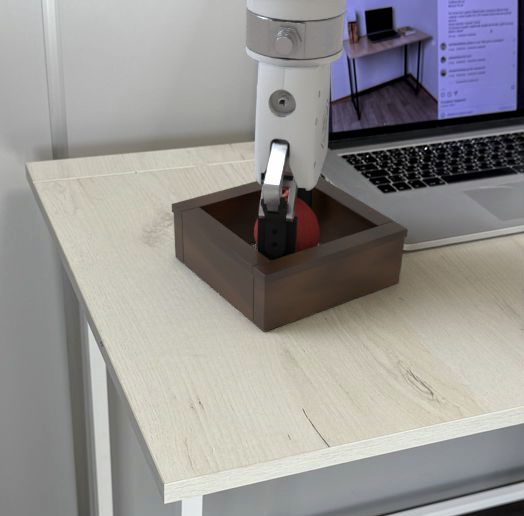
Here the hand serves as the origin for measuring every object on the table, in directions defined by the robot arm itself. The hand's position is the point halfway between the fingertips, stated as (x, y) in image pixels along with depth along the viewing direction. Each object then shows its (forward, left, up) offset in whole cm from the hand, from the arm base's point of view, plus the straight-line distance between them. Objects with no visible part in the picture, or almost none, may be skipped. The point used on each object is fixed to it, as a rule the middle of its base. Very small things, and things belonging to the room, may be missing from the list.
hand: (285, 232), depth 78 cm
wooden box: (0, 0, -4) cm, 4 cm away
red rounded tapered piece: (0, 0, -4) cm, 4 cm away
